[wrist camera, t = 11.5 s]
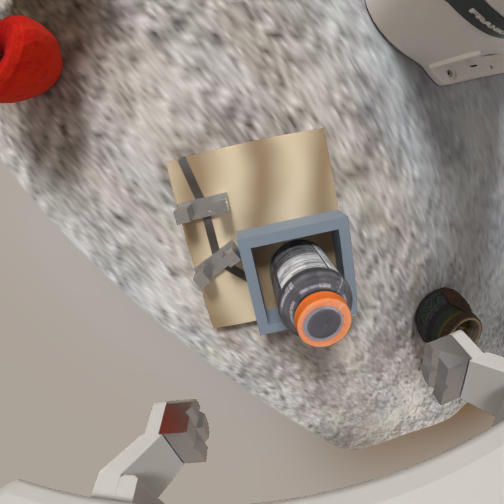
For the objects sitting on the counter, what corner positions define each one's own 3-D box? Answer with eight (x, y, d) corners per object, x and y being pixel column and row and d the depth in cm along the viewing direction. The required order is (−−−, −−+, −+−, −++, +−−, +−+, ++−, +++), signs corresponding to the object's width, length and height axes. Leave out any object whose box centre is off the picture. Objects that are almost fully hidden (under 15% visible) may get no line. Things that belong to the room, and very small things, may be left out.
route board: (320, 127, 28) (323, 127, 27) (346, 295, 34) (349, 299, 33) (168, 161, 29) (165, 161, 28) (214, 323, 35) (213, 329, 34)
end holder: (338, 209, 30) (347, 216, 27) (348, 299, 33) (357, 312, 30) (237, 231, 30) (236, 240, 28) (259, 319, 34) (260, 335, 31)
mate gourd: (429, 339, 37) (465, 383, 27) (396, 317, 36) (433, 364, 26) (462, 297, 35) (505, 334, 26) (431, 270, 34) (478, 307, 24)
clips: (228, 191, 29) (227, 195, 27) (247, 272, 32) (248, 282, 29) (176, 204, 29) (170, 209, 27) (198, 282, 32) (195, 293, 30)
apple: (92, 37, 24) (38, 4, 14) (64, 112, 27) (1, 105, 16) (35, 34, 23) (-21, 12, 13) (11, 102, 25) (-51, 98, 15)
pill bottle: (318, 297, 33) (349, 363, 22) (263, 288, 32) (273, 355, 22) (333, 244, 31) (376, 293, 20) (276, 233, 31) (294, 280, 20)
